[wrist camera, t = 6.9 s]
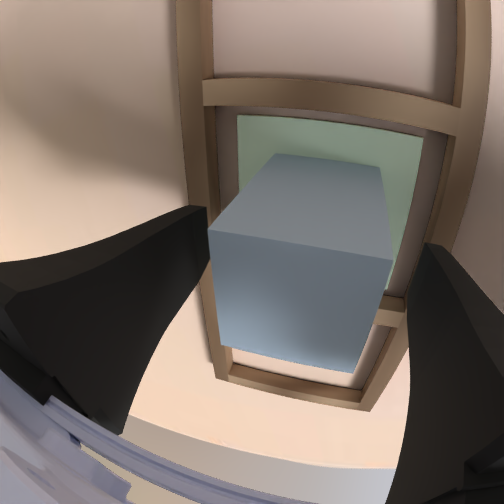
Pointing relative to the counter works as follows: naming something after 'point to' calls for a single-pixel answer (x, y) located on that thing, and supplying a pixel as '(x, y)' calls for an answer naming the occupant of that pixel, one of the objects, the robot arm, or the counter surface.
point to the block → (302, 261)
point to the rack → (333, 148)
